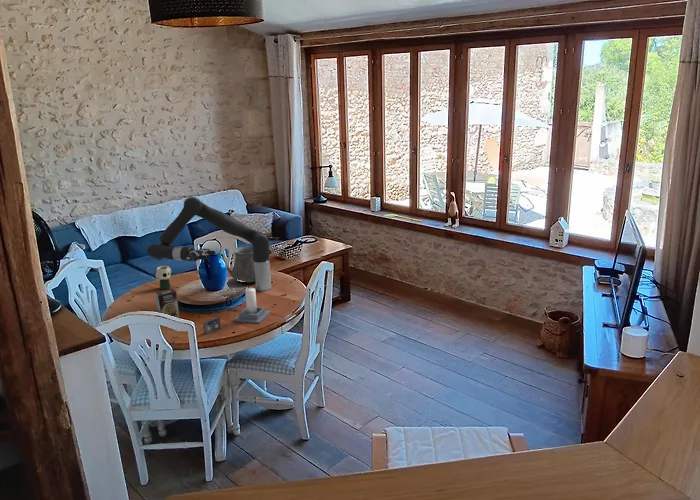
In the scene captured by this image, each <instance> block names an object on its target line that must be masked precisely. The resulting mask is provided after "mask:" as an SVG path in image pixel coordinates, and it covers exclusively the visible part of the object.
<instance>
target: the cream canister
mask: <svg viewBox="0 0 700 500" xmlns="http://www.w3.org/2000/svg"><path fill="white" fill-rule="evenodd" d="M244 291H245V302H246V307H247V313H248V314H257V307H258V305H257V304H258V303H257V295H256V294H257V292H256V291H257V290H256V288H255V287H248V288H245V290H244Z"/></svg>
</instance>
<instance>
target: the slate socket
mask: <svg viewBox="0 0 700 500" xmlns="http://www.w3.org/2000/svg"><path fill="white" fill-rule="evenodd" d="M270 314H272V312H271V310H266V307H262V306H257V314H248V313H247V306H245V308H243V310H241V311H240V312H239V313H238V315H237V316H236V317H235V318H234V319H233V321H234V322H237V323H238V322H240V323H251V324H261V323H262V322H263V321H264V320H265V319H266V318H267V317H268V316H269V315H270Z"/></svg>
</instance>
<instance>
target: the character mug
mask: <svg viewBox="0 0 700 500" xmlns="http://www.w3.org/2000/svg"><path fill="white" fill-rule="evenodd" d="M171 273H172V268H170V267H169V265H161V266H158V267H157V268H156V273H155V278H156V279H158V280H159V288H160V289H161V290H167V289H171V287H172V286H171V281H170V277H171Z"/></svg>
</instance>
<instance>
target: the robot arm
mask: <svg viewBox="0 0 700 500" xmlns="http://www.w3.org/2000/svg"><path fill="white" fill-rule="evenodd" d="M194 217H199V218H202V219H203V220H206V221H207V222H208V223H210V224H211V225H213V226H214V227H216V228H217V229H219V230H221V231H222V232H224V233H226V234H228V235H232V236H235V237H239V238H241V239H243V240H245V241H246V242H248V243H250V244H251V246H253V263H254V275H255V281H254V285H255V286H254V288H255V291H261V292H265V291H269V290H271V289H272V280H271V278H272V277H271V276H272V274H271V264H270V263H271V262H270V243H269V242H270V241H269V238H268V236H266V234H265V233H264V232H261V231H259V230H256V229H253V228H251V227H249V226H247V225H246V224H245V223H243V222H241V221H239V220H238V219H236V218H234V217H232V216H231V215H229V214H227V213H225V212H224V211H223V212H222V211H221V210H218V209H215V208H212V207H210V206H209V205H207V204H206V203H204V202H203V201H201V200H200V199H199V198H197V197H195V196H189V197H187V198H186V199H185V200H183V206H182V209H181V211H180V212H179V214H178V215H177V216H176V218H175V219H174V220H173V221H172V222H171V223H170V224H169V225H168V226H167V227H166V229H165V230H164V231H163V232H162V233H161V235H159V241H160V243H153V244H150V245H148V246H147V248H146V253H147V255H148V256H149V257H150V258H153V259H155V260H158V261H161V260H162V259H164V258H165V259H166V260H175V261H183V262H198V261H200V260H201V261H207V260H208V256H215V255H216V250H210V248H201V247H200V248H199V249H194V247H192V246H184V245H183V246H181V245H180V246H179V245H178V246H172V244H173V242H175V240H176V239H177V237H178V236H179V235H180V233H181V232H182V231H183V230H184V228H185V226H187V224H188V223H189V222H190V221H191V220H192V219H193V218H194Z"/></svg>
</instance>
